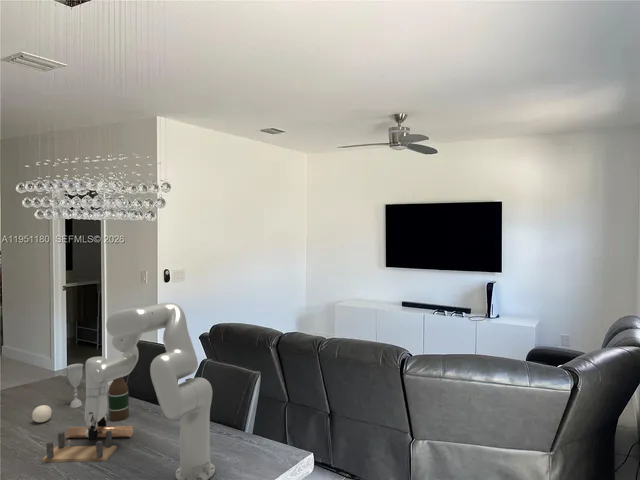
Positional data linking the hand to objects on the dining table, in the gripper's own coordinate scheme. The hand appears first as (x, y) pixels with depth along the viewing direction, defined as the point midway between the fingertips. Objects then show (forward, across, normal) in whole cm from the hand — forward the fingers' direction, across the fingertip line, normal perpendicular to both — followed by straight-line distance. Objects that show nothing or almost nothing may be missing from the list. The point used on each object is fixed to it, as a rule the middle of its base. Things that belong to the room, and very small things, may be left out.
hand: (97, 435), depth 177 cm
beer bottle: (+2, -19, +1) cm, 19 cm away
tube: (+1, 0, 0) cm, 1 cm away
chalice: (+2, -33, -24) cm, 41 cm away
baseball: (+2, -16, -30) cm, 34 cm away
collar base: (+1, +12, -1) cm, 12 cm away
